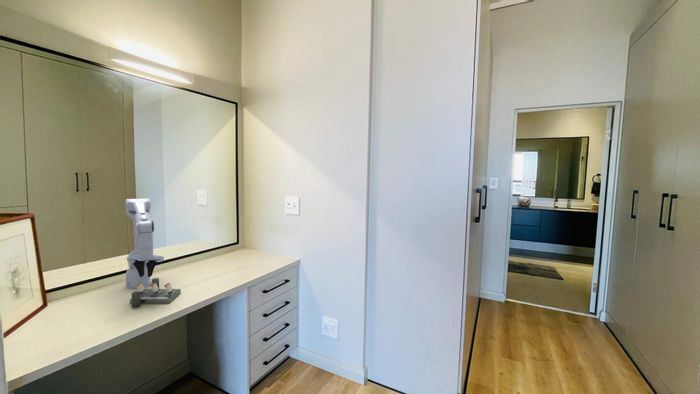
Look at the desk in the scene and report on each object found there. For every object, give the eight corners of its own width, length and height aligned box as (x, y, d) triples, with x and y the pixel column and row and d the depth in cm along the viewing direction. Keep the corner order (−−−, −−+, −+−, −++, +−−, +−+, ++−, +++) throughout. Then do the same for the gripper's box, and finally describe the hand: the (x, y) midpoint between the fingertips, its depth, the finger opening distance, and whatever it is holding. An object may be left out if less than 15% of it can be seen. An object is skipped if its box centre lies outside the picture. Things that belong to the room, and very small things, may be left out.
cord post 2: (150, 292, 138) (150, 280, 137) (154, 289, 141) (153, 278, 140) (157, 292, 138) (156, 280, 137) (160, 289, 141) (160, 278, 140)
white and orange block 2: (153, 294, 131) (149, 285, 130) (157, 291, 133) (153, 283, 133) (156, 293, 131) (152, 284, 130) (159, 290, 134) (155, 282, 133)
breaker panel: (130, 303, 126) (129, 298, 126) (145, 293, 137) (144, 287, 137) (168, 303, 128) (168, 298, 128) (180, 293, 139) (180, 287, 138)
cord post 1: (130, 307, 123) (129, 294, 122) (134, 304, 126) (134, 291, 125) (137, 307, 123) (137, 294, 123) (142, 304, 126) (141, 291, 125)
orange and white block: (167, 294, 131) (163, 285, 131) (170, 291, 134) (167, 283, 134) (170, 293, 131) (166, 284, 131) (173, 290, 134) (169, 282, 134)
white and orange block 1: (139, 294, 130) (135, 285, 129) (143, 291, 133) (139, 283, 132) (142, 293, 130) (138, 284, 129) (145, 290, 133) (141, 282, 132)
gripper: (121, 249, 125) (122, 279, 126) (157, 249, 126) (158, 279, 128) (132, 245, 132) (133, 273, 133) (166, 245, 133) (166, 273, 135)
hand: (146, 276), depth 131 cm, fingers open, 3 cm apart
